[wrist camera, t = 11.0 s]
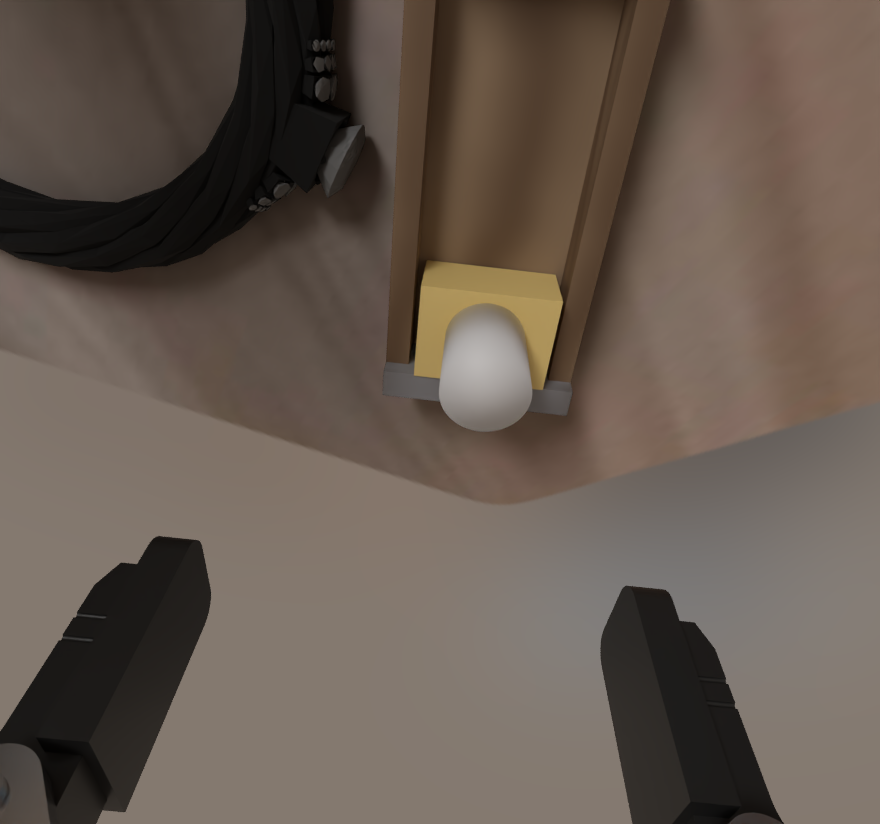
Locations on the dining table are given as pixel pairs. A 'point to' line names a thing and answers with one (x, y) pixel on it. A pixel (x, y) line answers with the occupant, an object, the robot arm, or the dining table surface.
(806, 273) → the dining table surface
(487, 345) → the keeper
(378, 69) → the dining table surface
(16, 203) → the cable lock
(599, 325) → the dining table surface
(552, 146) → the wooden tray
